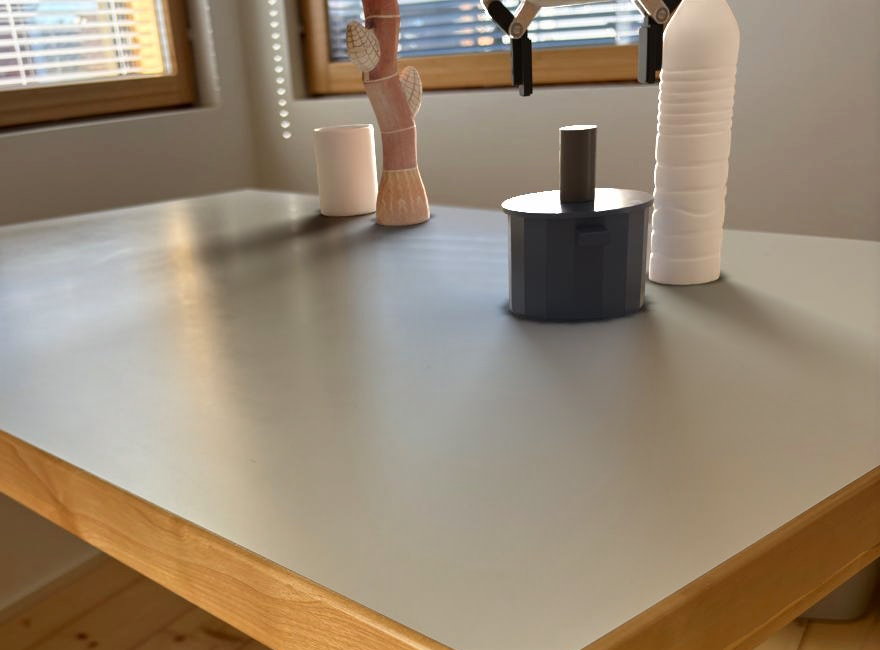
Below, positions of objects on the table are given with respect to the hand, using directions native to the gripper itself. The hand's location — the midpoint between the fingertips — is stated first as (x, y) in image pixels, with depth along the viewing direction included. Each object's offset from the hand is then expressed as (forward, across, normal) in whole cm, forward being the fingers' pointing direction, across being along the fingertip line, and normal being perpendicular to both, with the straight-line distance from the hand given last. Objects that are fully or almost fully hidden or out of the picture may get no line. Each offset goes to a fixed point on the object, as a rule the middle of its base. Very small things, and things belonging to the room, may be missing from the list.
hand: (585, 89), depth 82 cm
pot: (+17, +1, 0) cm, 17 cm away
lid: (+9, +1, 0) cm, 9 cm away
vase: (+16, +16, -55) cm, 60 cm away
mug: (+16, +23, -69) cm, 75 cm away
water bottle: (+18, -11, -9) cm, 23 cm away
